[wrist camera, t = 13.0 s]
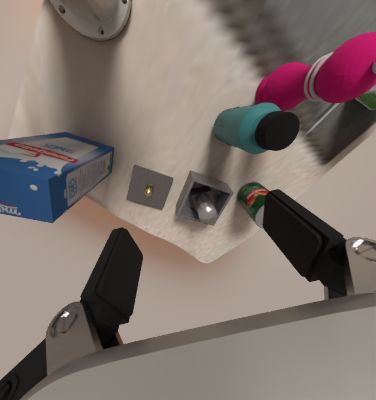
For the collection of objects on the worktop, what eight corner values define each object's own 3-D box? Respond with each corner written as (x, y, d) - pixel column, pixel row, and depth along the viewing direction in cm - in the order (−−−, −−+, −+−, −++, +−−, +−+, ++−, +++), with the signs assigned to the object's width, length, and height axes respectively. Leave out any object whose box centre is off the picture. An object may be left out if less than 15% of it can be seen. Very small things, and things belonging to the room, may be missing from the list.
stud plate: (127, 198, 39) (123, 205, 36) (135, 164, 35) (131, 169, 32) (162, 207, 42) (161, 215, 39) (173, 177, 38) (173, 183, 34)
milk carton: (66, 159, 33) (-51, 204, 16) (65, 132, 30) (-79, 149, 13) (111, 172, 36) (52, 223, 18) (114, 147, 33) (47, 180, 15)
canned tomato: (250, 209, 45) (270, 233, 35) (231, 198, 42) (248, 221, 33) (268, 189, 42) (296, 210, 32) (249, 176, 39) (274, 195, 30)
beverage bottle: (217, 146, 35) (261, 174, 17) (206, 118, 31) (246, 118, 14) (242, 132, 33) (316, 146, 16) (234, 102, 30) (313, 80, 13)
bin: (176, 204, 42) (176, 215, 37) (190, 170, 37) (192, 178, 32) (209, 214, 45) (213, 225, 40) (226, 183, 40) (233, 192, 35)
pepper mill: (293, 73, 29) (473, 5, 11) (278, 114, 32) (399, 110, 15) (260, 68, 28) (400, -15, 11) (248, 111, 31) (340, 102, 14)
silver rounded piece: (190, 189, 39) (194, 209, 30) (208, 185, 39) (218, 204, 30) (194, 204, 42) (199, 227, 33) (211, 200, 41) (221, 222, 33)
